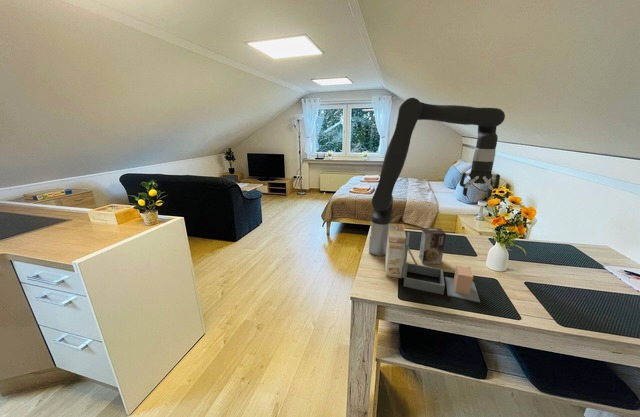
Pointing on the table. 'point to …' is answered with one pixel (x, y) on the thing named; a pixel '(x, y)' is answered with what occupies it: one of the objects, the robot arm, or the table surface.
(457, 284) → the block
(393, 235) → the coffeecake box
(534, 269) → the table surface
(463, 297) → the mat
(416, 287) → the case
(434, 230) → the coffee box
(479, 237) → the table surface
